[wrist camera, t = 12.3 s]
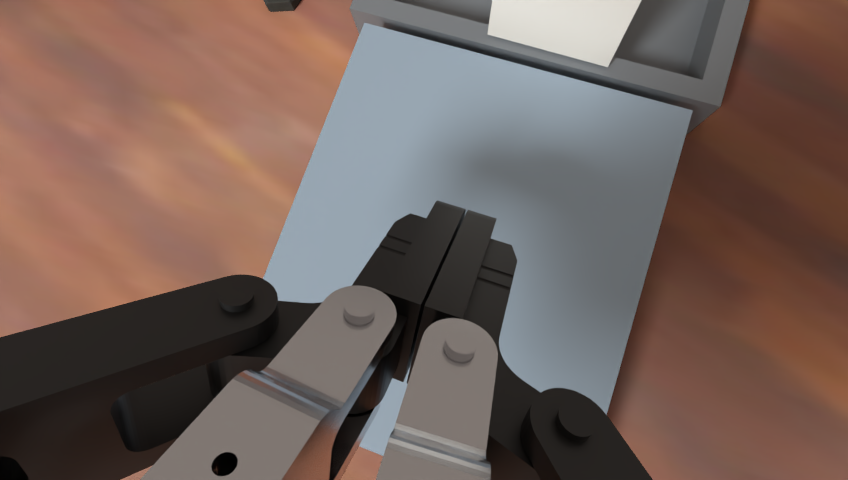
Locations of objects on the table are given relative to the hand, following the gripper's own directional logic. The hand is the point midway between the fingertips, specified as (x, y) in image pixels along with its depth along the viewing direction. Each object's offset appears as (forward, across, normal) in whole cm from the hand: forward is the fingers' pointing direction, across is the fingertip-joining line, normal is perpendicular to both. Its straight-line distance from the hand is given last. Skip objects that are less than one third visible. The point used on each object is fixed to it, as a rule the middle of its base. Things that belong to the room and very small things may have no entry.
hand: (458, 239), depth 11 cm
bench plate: (+5, 0, +5) cm, 7 cm away
